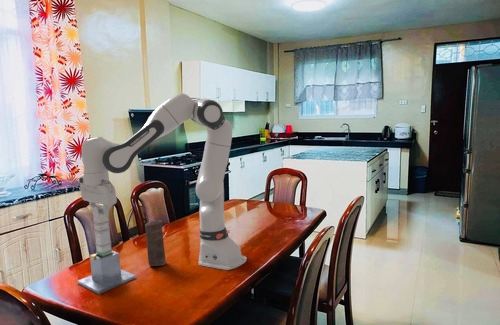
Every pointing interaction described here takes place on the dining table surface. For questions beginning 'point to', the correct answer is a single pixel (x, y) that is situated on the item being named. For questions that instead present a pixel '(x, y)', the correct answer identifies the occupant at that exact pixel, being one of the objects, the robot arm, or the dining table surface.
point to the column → (101, 232)
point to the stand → (105, 274)
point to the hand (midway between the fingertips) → (100, 213)
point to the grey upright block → (155, 243)
